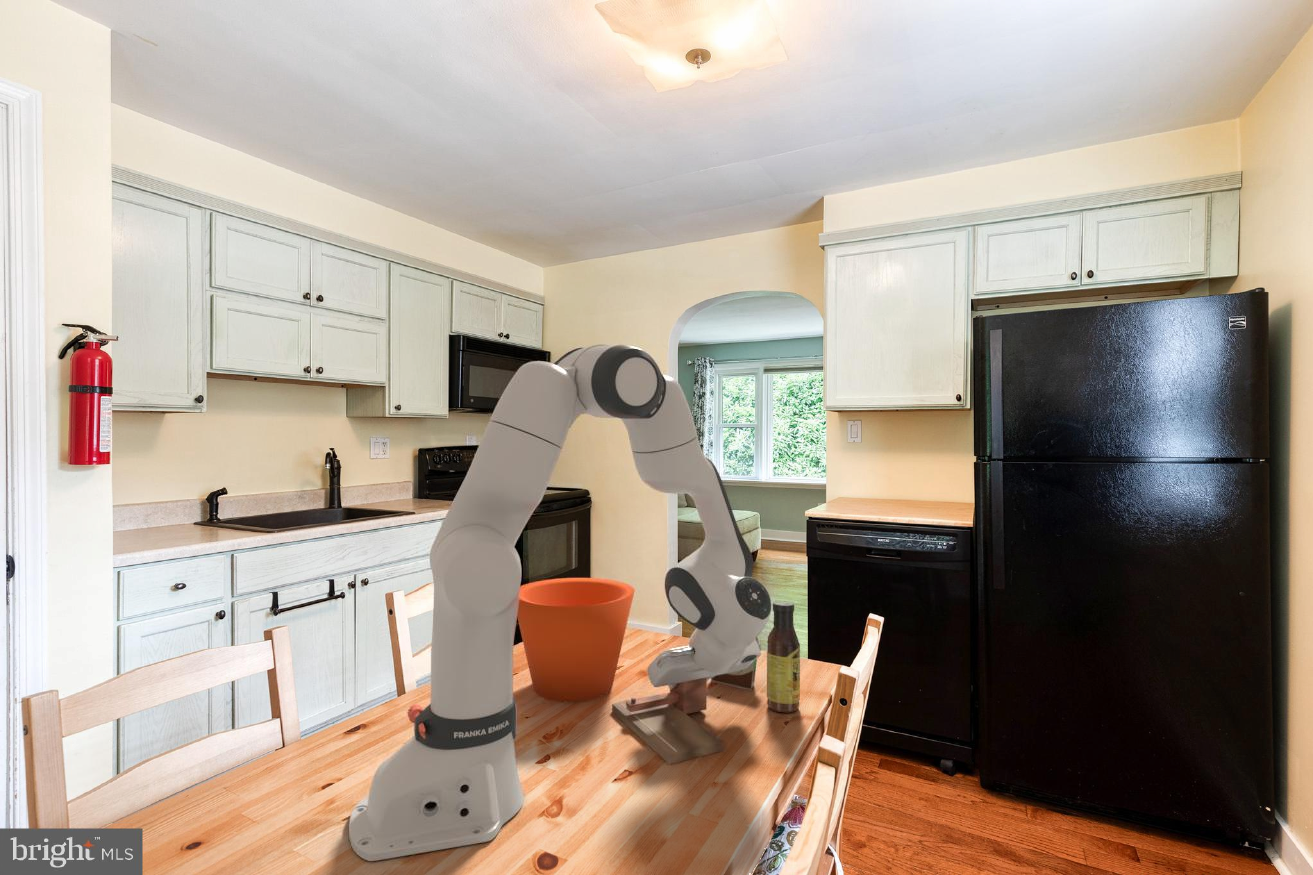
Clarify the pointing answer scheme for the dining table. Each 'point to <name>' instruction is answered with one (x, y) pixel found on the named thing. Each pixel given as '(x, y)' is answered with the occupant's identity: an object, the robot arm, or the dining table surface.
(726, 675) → the food container
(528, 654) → the flowerpot
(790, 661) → the sauce bottle
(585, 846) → the dining table surface
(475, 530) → the robot arm
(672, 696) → the latch lever with knob
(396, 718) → the dining table surface
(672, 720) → the plank
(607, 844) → the dining table surface
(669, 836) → the dining table surface
